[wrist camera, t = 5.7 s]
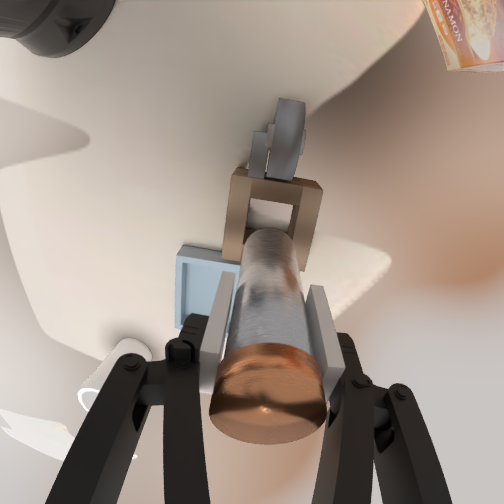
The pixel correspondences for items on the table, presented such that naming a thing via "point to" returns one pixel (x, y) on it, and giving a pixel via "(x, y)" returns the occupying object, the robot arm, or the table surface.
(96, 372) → the foam cup
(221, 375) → the pin
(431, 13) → the coffeecake box
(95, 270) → the table surface
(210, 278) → the tray
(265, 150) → the pulley block
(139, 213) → the table surface
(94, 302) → the table surface
